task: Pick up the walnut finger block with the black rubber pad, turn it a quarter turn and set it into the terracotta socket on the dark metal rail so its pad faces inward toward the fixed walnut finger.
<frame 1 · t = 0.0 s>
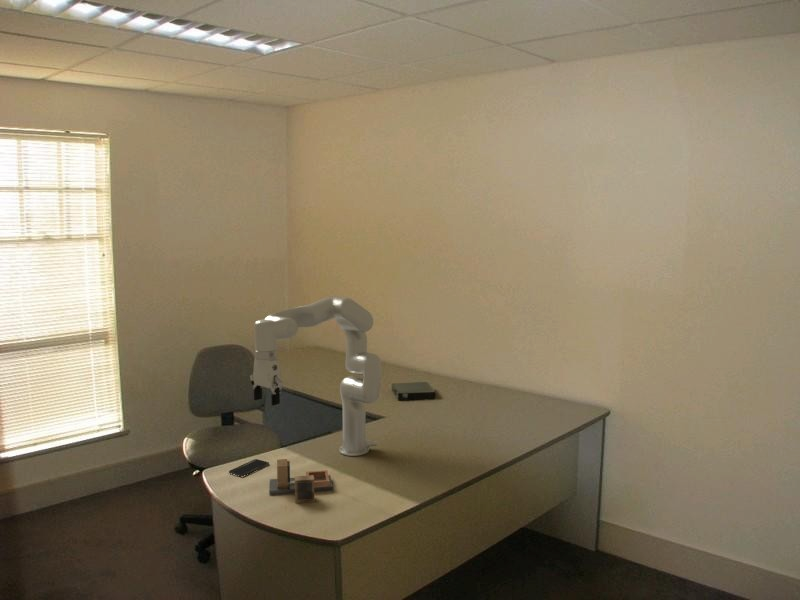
hand: (266, 401, 221), 31 cm above the table, tool pointing down, fingers open, 9 cm apart
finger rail: (300, 486, 224), on the table
phone: (249, 470, 240), on the table
loose finger: (304, 500, 213), on the table
network switch: (413, 396, 344), on the table
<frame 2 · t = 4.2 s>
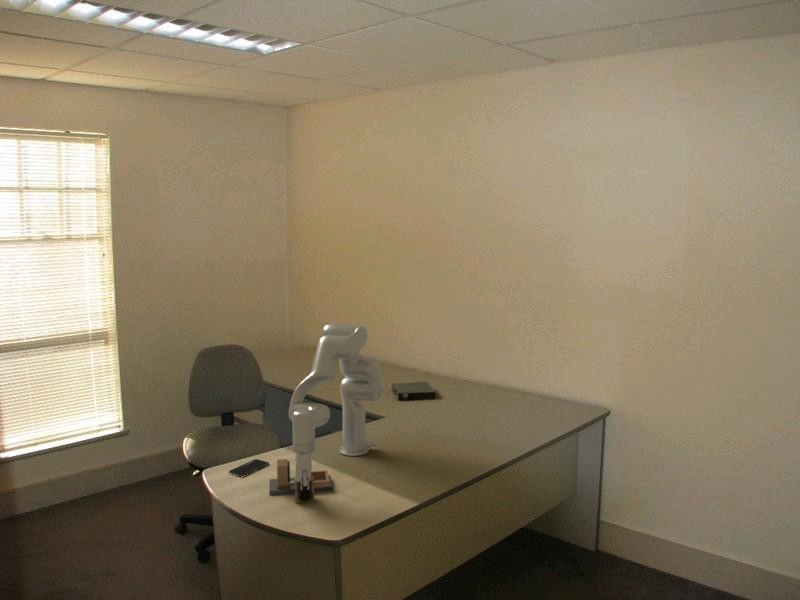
hand: (304, 496, 213), 1 cm above the table, tool pointing down, fingers closed on loose finger, 4 cm apart
loose finger: (304, 500, 213), on the table, touching gripper
everything else where it was.
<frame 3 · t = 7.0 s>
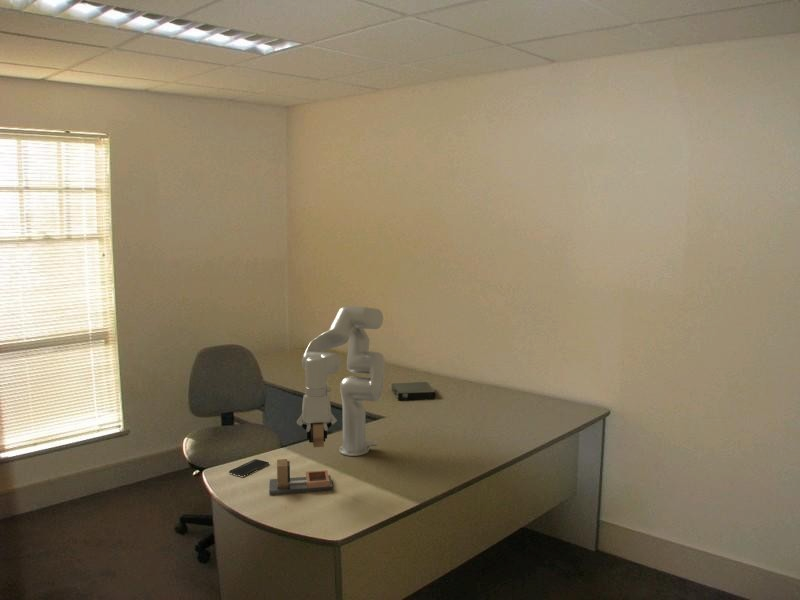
hand: (317, 440, 223), 17 cm above the table, tool pointing down, fingers closed on loose finger, 4 cm apart
loose finger: (317, 444, 223), point 16 cm above the table, touching gripper
everything else where it was.
when the fingers open (5 cm above the table, at t = 9.9 s): loose finger drops 2 cm, resting on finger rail.
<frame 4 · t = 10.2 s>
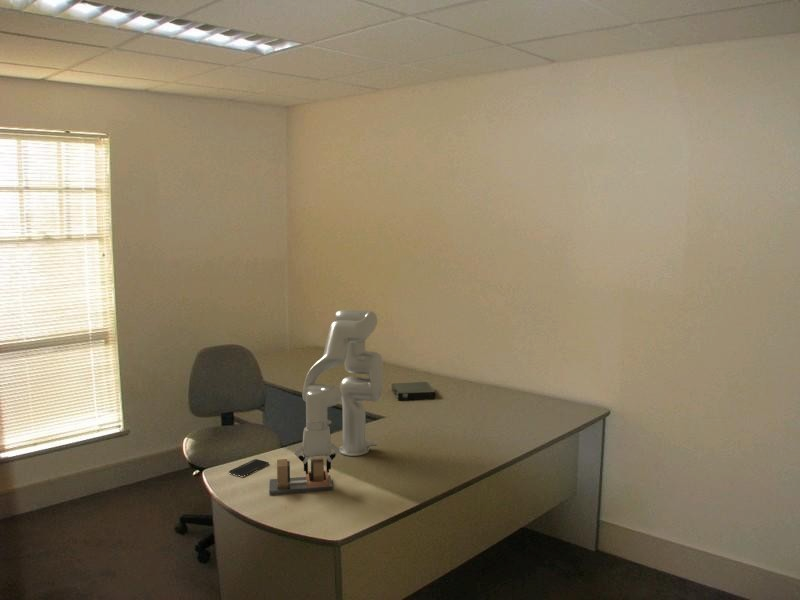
hand: (317, 471, 225), 5 cm above the table, tool pointing down, fingers open, 7 cm apart
loose finger: (317, 481, 225), point 1 cm above the table, touching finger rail
everything else where it was.
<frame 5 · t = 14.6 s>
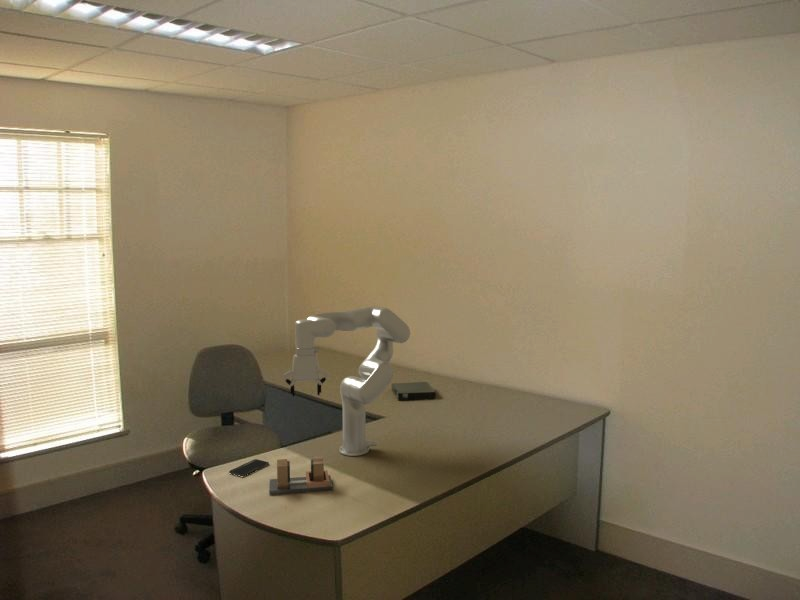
hand: (306, 395, 241), 28 cm above the table, tool pointing down, fingers open, 9 cm apart
nothing on the table moved.
at the end: loose finger 0.1 cm from the target spot on the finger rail, point 1.5 cm above the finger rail's base; loose finger tilted 0°; the gripper is holding nothing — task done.
